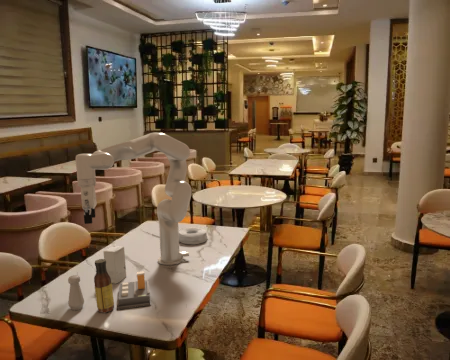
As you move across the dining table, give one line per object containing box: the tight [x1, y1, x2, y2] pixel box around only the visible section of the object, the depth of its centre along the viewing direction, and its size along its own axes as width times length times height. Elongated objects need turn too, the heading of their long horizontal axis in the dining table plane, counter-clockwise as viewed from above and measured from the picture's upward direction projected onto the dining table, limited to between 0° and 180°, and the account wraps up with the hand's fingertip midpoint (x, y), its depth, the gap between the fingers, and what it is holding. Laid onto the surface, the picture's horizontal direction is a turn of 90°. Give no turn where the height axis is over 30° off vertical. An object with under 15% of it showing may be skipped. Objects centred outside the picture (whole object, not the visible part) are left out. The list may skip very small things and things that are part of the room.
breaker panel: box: [118, 279, 151, 305], centre depth 161 cm, size 12×15×4 cm
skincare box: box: [103, 245, 127, 285], centre depth 176 cm, size 8×6×15 cm
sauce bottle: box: [93, 258, 115, 313], centre depth 149 cm, size 6×6×20 cm
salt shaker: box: [67, 274, 85, 312], centre depth 151 cm, size 6×6×13 cm
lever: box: [136, 270, 146, 289], centre depth 161 cm, size 3×2×7 cm
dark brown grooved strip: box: [117, 300, 151, 310], centre depth 152 cm, size 12×2×1 cm, turn 103°
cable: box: [179, 227, 208, 245], centre depth 230 cm, size 18×18×6 cm
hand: (90, 220), depth 173 cm, fingers open, 9 cm apart
